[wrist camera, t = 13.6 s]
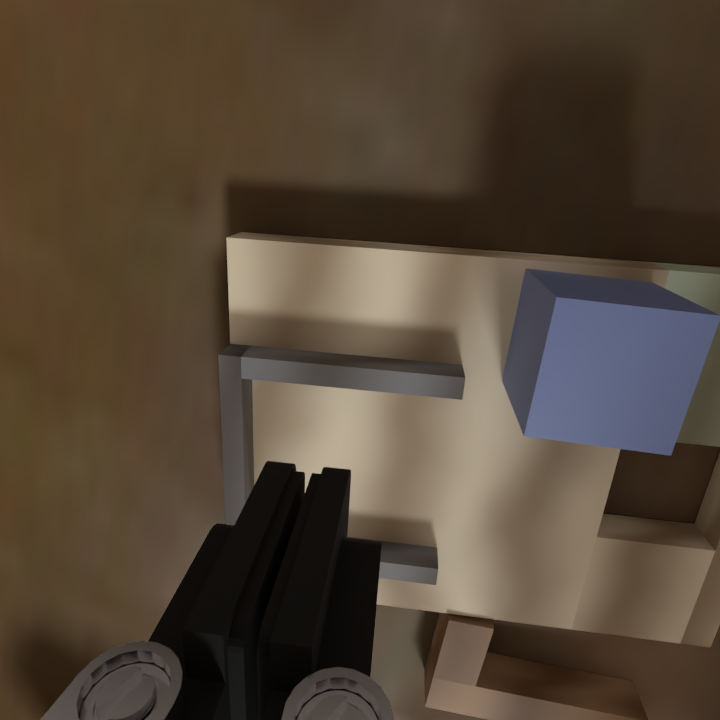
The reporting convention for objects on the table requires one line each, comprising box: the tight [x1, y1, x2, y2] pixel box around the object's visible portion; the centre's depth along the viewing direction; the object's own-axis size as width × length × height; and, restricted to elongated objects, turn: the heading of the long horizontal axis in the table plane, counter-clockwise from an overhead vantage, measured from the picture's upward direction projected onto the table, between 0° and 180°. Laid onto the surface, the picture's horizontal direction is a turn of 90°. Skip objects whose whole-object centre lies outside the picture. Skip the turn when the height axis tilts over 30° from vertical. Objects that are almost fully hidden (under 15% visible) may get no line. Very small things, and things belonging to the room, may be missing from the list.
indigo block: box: [502, 268, 720, 456], centre depth 19 cm, size 5×5×5 cm
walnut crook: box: [425, 613, 648, 720], centre depth 29 cm, size 12×7×2 cm, turn 82°
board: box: [218, 232, 720, 648], centre depth 24 cm, size 25×19×4 cm
